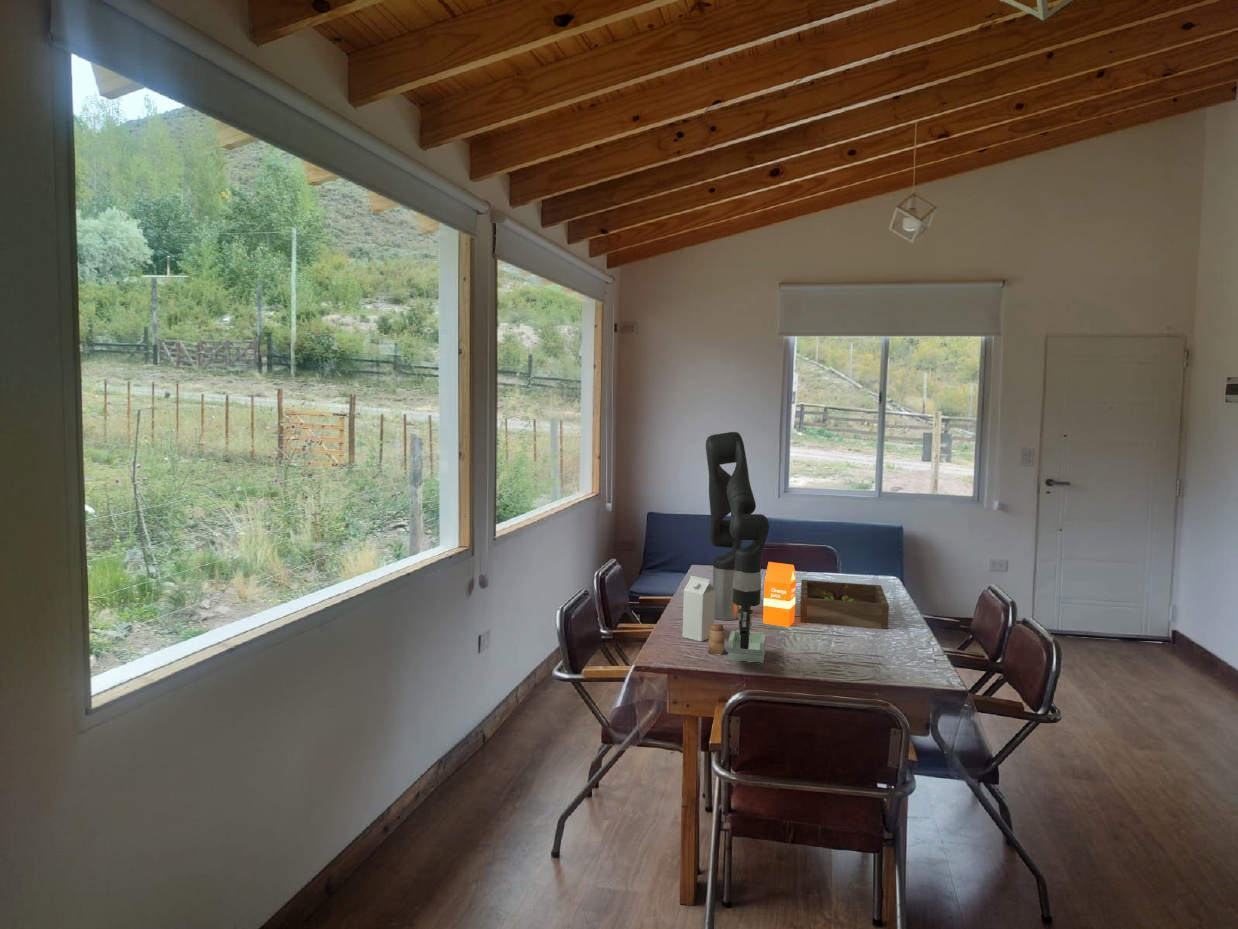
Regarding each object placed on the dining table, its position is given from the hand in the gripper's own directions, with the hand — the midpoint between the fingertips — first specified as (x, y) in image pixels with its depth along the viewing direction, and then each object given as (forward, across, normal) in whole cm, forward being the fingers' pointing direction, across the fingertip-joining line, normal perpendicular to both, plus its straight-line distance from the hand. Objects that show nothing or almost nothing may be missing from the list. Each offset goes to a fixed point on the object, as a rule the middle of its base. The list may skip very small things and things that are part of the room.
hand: (744, 648), depth 221 cm
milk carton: (+6, -27, -16) cm, 32 cm away
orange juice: (+6, -51, +8) cm, 52 cm away
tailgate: (+3, -7, 0) cm, 8 cm away
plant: (+6, -66, +28) cm, 72 cm away
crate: (+6, -13, 0) cm, 14 cm away
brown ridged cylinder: (+6, -14, -9) cm, 18 cm away
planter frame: (+6, -67, +29) cm, 73 cm away
